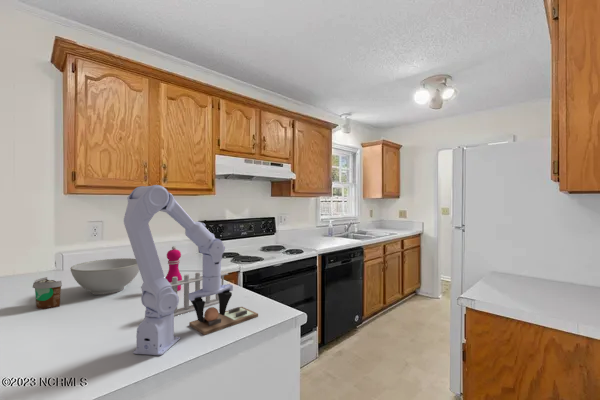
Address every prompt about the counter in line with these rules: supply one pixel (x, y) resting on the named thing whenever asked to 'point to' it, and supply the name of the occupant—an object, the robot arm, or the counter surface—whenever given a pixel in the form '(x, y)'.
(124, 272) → the decorative bowl
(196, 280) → the test tube rack
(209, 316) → the terracotta ball
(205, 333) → the cradle board
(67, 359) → the counter surface
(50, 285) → the food container
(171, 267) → the pepper mill
